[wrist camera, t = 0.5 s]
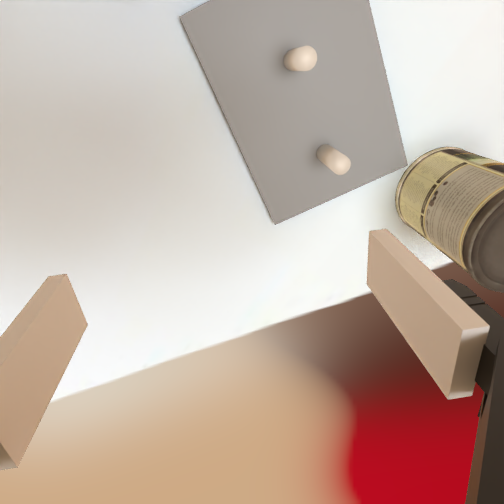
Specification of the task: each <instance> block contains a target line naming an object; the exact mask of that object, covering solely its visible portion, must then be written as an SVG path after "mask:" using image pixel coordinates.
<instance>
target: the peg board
mask: <svg viewBox="0 0 504 504" xmlns="http://www.w3.org/2000/svg"><path fill="white" fill-rule="evenodd" d="M180 19H181V21H182V24H183V26H184V28H185V30H186V32H187V35H188V37H189V39H190V41H191V43H192V45H193V48H194V50H195V52H196V54H197V56H198V59H199V61H200V63H201V65H202V67H203V69H204V72H205V74H206V76H207V78H208V80H209V83H210V85H211V87H212V89H213V91H214V93H215V96H216V98H217V100H218V102H219V104H220V107H221V109H222V111H223V113H224V115H225V118H226V120H227V122H228V124H229V126H230V128H231V131H232V133H233V135H234V137H235V139H236V142H237V144H238V146H239V148H240V150H241V152H242V155H243V157H244V159H245V161H246V163H247V166H248V168H249V170H250V172H251V174H252V176H253V179H254V181H255V183H256V185H257V187H258V190H259V192H260V194H261V196H262V198H263V200H264V203H265V205H266V207H267V209H268V211H269V214H270V216H271V218H272V220H273V222H274V225H276V224H278V223H280V222H283V221H285V220H287V219H289V218H292V217H294V216H296V215H298V214H300V213H303V212H305V211H307V210H309V209H312V208H314V207H316V206H318V205H321V204H323V203H325V202H327V201H329V200H332V199H334V198H336V197H338V196H341V195H343V194H345V193H347V192H349V191H352V190H354V189H356V188H358V187H361V186H363V185H365V184H367V183H369V182H372V181H374V180H376V179H378V178H381V177H383V176H385V175H387V174H390V173H392V172H394V171H396V170H398V169H401V168H403V167H405V166H407V165H408V164H407V160H406V156H405V152H404V147H403V143H402V139H401V135H400V130H399V126H398V122H397V118H396V114H395V109H394V105H393V101H392V97H391V92H390V88H389V84H388V80H387V75H386V71H385V67H384V63H383V58H382V54H381V50H380V46H379V41H378V37H377V33H376V29H375V24H374V20H373V16H372V12H371V8H370V3H369V0H210V1H208V2H206V3H204V4H202V5H200V6H199V7H197V8H195V9H193V10H191V11H189V12H188V13H186V14H184V15H182V16H180Z"/></svg>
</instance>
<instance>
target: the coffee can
mask: <svg viewBox="0 0 504 504" xmlns="http://www.w3.org/2000/svg"><path fill="white" fill-rule="evenodd" d="M396 208H397V211H398V214H399V216H400V218H401V219H402V220H403V222H404V223H405V224H407V225H408V226H409V227H411V228H413V229H414V230H415V231H416V232H418V233H419V234H420V235H421V236H423V237H424V238H425V239H426V240H428V241H429V242H430V243H431V244H432V245H434V246H435V247H436V248H437V249H439V250H440V251H441V252H442V253H444V254H445V255H446V256H447V257H449V258H450V259H451V260H452V261H454V262H455V263H456V264H457V265H459V266H460V267H462V269H464V270H465V271H466V272H467V273H469V274H470V275H471V277H472V278H473V279H474V280H475V281H476V282H477V283H479V284H480V285H481V286H483V287H484V288H487V289H489V290H492V291H495V292H502V293H504V163H501V162H498V161H495V160H492V159H489V158H485V157H482V156H479V155H476V154H473V153H470V152H467V151H465V150H463V149H460V148H455V147H444V148H439V149H435V150H432V151H430V152H428V153H426V154H424V155H422V156H421V157H419V158H418V159H417V160H416V161H415V162H413V163H412V164H411V166H410V167H409V168H408V169H407V170H406V171H405V173H404V174H403V176H402V178H401V180H400V182H399V185H398V188H397V192H396Z"/></svg>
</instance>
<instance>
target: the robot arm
mask: <svg viewBox="0 0 504 504" xmlns="http://www.w3.org/2000/svg"><path fill="white" fill-rule="evenodd" d="M367 285H368V287H369V288H370V289H371V291H372V292H373V293H374V295H375V297H376V298H377V299H378V301H379V302H380V304H381V305H382V307H383V308H384V309H385V311H386V312H387V313H388V315H389V316H390V318H391V319H392V321H393V322H394V323H395V325H396V326H397V328H398V329H399V331H400V332H401V333H402V335H403V336H404V337H405V339H406V341H407V342H408V343H409V345H410V346H411V348H412V349H413V351H414V352H415V353H416V355H417V356H418V358H419V359H420V361H421V362H422V363H423V364H424V366H425V367H426V369H427V371H428V372H429V373H430V375H431V376H432V378H433V379H434V380H435V382H436V383H437V385H438V386H439V388H440V389H441V390H442V392H443V393H444V395H445V396H446V398H447V399H454V398H460V397H467V396H472V394H473V389H474V386H475V382H477V384H478V385H479V386H480V387H481V389H482V390H483V391H484V396H483V399H482V403H481V406H480V410H479V413H478V417H479V423H478V429H477V435H476V442H475V448H474V454H473V460H472V466H471V472H470V478H469V484H468V491H467V496H466V502H465V504H504V318H503V317H501V316H500V315H499V314H498V313H497V312H496V311H495V310H493V309H492V308H491V307H490V306H489V305H488V304H485V302H484V301H483V300H482V299H481V298H479V297H477V295H476V294H475V293H474V292H473V291H471V290H470V289H469V288H468V287H467V286H465V285H463V284H461V283H459V282H457V281H455V280H452V279H451V280H444V281H441V280H440V279H439V278H438V277H437V276H436V275H435V274H434V273H433V272H432V271H431V270H430V269H429V268H428V267H427V266H425V265H424V264H423V263H422V262H421V261H420V260H419V259H418V258H417V257H416V256H415V255H414V254H413V253H412V252H411V251H409V250H408V249H407V248H406V247H405V246H404V245H403V244H402V243H401V242H400V241H399V240H398V239H397V238H396V237H395V236H394V235H392V234H391V233H390V232H389V231H388V230H387V229H381V230H374V231H369V245H368V266H367ZM87 325H88V324H87V322H86V319H85V317H84V314H83V312H82V310H81V307H80V305H79V302H78V300H77V298H76V295H75V293H74V290H73V288H72V285H71V283H70V281H69V278H68V276H67V274H62V275H55V276H48V278H47V279H46V280H45V282H44V283H43V284H42V285H41V287H40V288H39V289H38V290H37V292H36V293H35V294H34V295H33V297H32V298H31V299H30V300H29V302H28V303H27V304H26V306H25V307H24V308H23V309H22V311H21V312H20V313H19V314H18V316H17V317H16V318H15V319H14V321H13V322H12V323H11V324H10V326H9V327H8V328H7V330H6V331H5V332H4V333H3V335H2V336H1V337H0V470H5V469H11V468H17V467H18V466H19V464H20V461H21V459H22V457H23V455H24V453H25V451H26V449H27V447H28V445H29V443H30V441H31V439H32V437H33V435H34V433H35V431H36V429H37V427H38V425H39V423H40V421H41V419H42V416H43V415H44V413H45V410H46V409H47V406H48V404H49V402H50V400H51V398H52V396H53V394H54V392H55V390H56V388H57V386H58V384H59V382H60V380H61V378H62V376H63V374H64V372H65V370H66V368H67V366H68V364H69V362H70V360H71V358H72V356H73V354H74V352H75V350H76V347H77V345H78V343H79V341H80V339H81V337H82V335H83V333H84V331H85V329H86V327H87Z"/></svg>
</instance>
